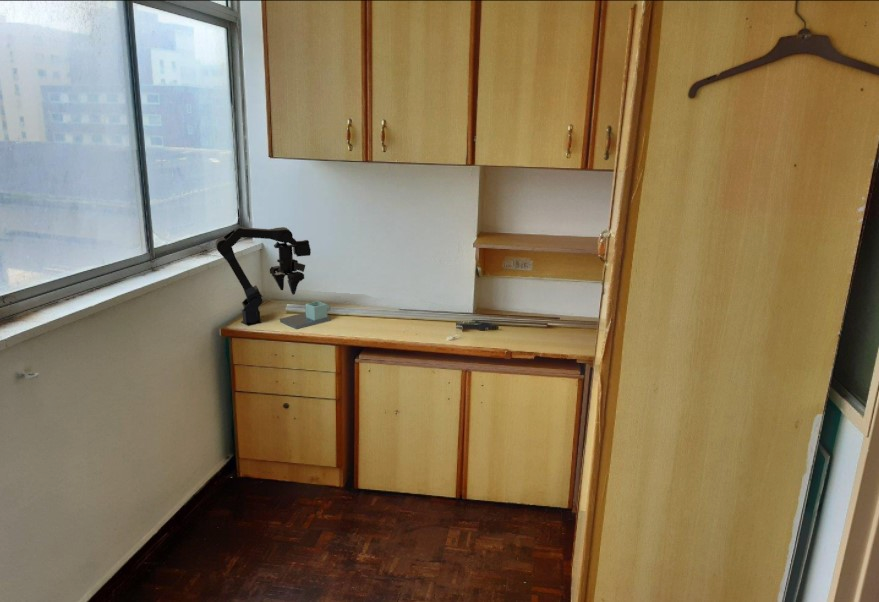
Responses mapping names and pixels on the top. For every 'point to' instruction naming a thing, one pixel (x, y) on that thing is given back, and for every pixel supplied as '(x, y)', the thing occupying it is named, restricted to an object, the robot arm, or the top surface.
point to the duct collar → (317, 310)
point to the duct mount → (301, 320)
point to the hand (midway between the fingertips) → (287, 292)
